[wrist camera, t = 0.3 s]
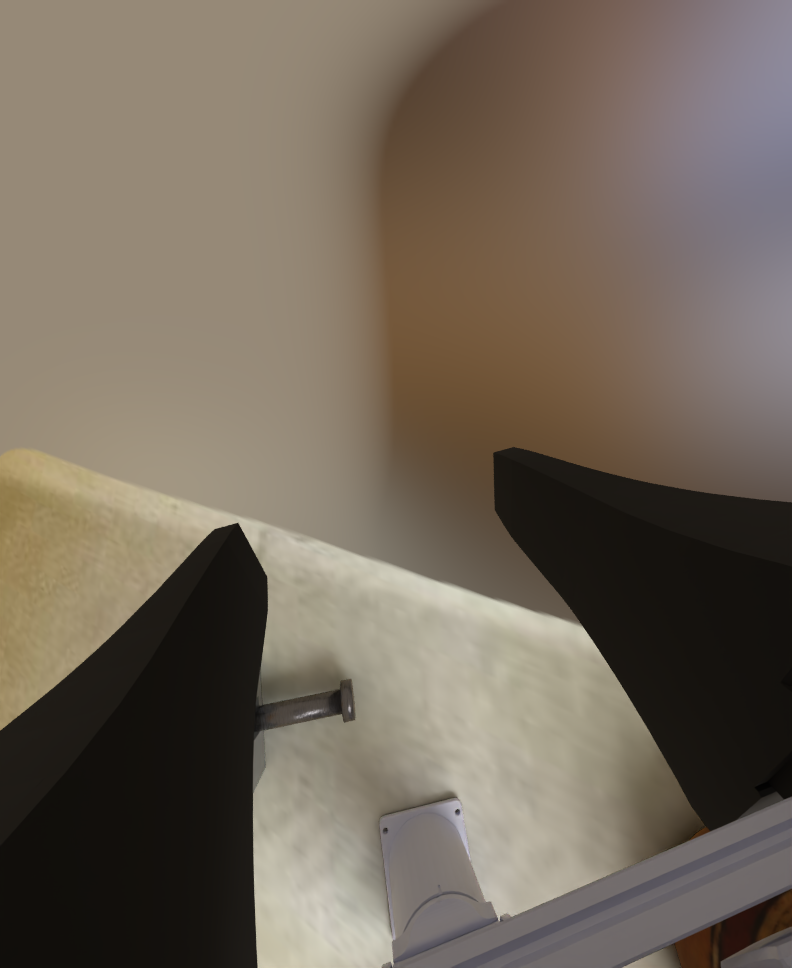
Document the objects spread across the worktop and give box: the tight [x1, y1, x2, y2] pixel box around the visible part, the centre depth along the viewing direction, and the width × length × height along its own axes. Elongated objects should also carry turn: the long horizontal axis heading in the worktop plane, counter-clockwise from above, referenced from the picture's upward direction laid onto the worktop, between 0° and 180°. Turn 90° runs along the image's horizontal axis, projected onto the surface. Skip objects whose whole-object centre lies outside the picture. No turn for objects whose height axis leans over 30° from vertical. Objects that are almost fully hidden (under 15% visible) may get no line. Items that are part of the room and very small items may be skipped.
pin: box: [254, 679, 355, 732], centre depth 32 cm, size 11×3×3 cm, turn 99°
